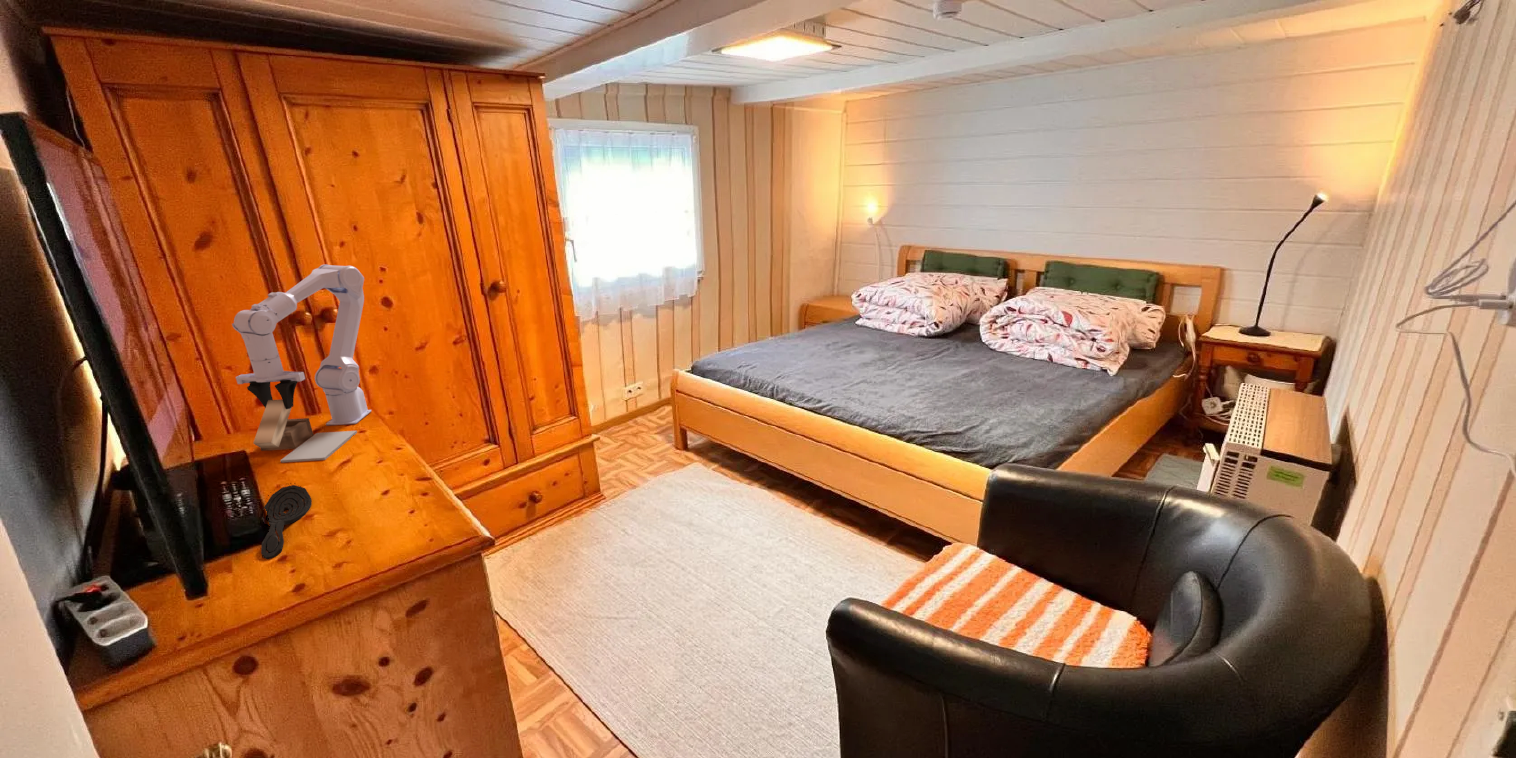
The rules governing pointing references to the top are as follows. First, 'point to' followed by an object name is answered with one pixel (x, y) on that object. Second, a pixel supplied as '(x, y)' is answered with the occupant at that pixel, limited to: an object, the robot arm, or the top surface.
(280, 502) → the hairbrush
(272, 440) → the bar
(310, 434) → the holder
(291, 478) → the top surface
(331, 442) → the mat
